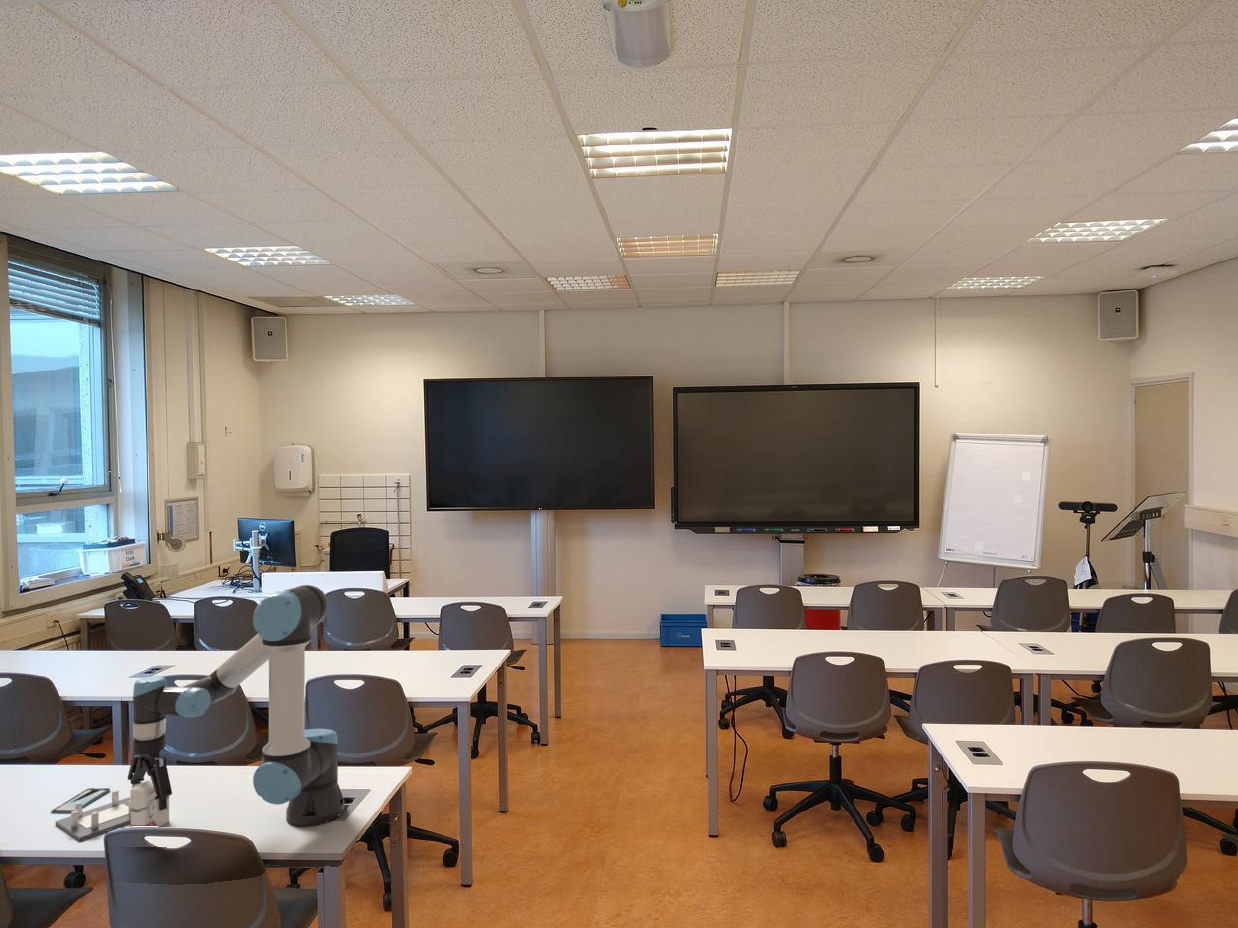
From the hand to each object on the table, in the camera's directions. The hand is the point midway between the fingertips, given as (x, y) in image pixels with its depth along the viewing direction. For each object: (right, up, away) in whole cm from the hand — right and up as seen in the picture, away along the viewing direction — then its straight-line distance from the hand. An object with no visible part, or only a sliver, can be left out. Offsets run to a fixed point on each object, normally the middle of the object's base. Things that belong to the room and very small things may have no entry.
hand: (149, 814), depth 205 cm
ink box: (0, -4, 0) cm, 4 cm away
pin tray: (-15, -4, +4) cm, 16 cm away
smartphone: (-30, -4, +16) cm, 34 cm away
